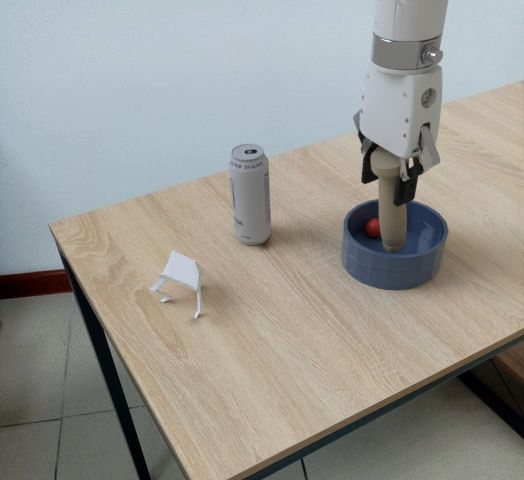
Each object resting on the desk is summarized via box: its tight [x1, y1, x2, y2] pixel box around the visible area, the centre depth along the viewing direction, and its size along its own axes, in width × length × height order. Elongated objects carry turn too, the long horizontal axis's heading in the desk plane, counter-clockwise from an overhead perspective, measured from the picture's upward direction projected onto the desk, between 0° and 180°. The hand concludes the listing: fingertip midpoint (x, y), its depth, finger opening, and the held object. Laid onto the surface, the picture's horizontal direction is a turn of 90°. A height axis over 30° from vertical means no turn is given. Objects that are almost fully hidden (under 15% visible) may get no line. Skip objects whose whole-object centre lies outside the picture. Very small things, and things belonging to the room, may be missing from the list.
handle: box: [371, 146, 410, 254], centre depth 74 cm, size 5×6×15 cm
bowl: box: [340, 198, 450, 291], centre depth 81 cm, size 15×15×6 cm
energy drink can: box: [227, 143, 272, 246], centre depth 83 cm, size 6×6×15 cm
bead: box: [365, 218, 381, 238], centre depth 85 cm, size 3×3×3 cm
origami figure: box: [148, 248, 205, 319], centre depth 77 cm, size 12×8×5 cm
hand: (387, 190), depth 73 cm, fingers closed on handle, 6 cm apart
